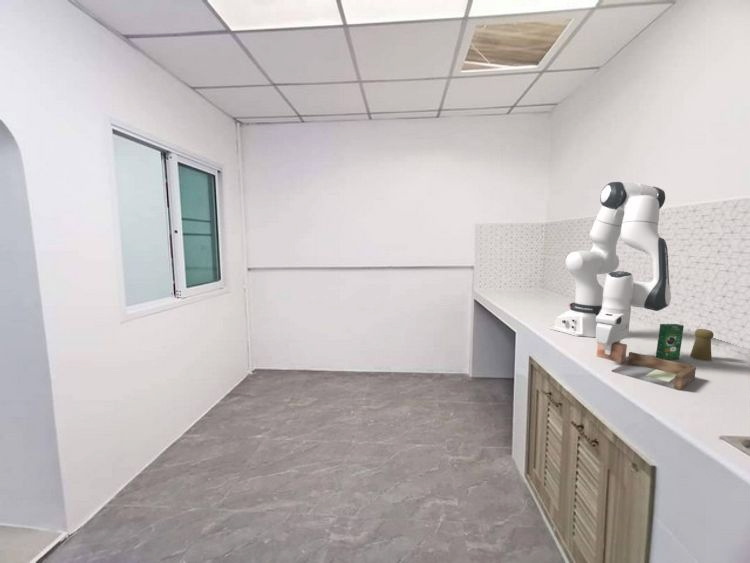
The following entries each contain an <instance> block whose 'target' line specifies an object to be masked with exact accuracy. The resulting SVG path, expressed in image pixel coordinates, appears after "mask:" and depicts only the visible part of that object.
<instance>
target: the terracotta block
mask: <svg viewBox="0 0 750 563" xmlns="http://www.w3.org/2000/svg"><path fill="white" fill-rule="evenodd" d="M596 349H597V350H596V357H597V358H602V359H605V360H610V361H613V362H618V363H620V364H621V363H623V362H626V357H627V349H628V344H626V343H622V342H620V343H617V342H615V343H612V346H611V350H612V354H610V355H608V354H605V347H604V345H602V344H598V343H597V348H596Z"/></svg>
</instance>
